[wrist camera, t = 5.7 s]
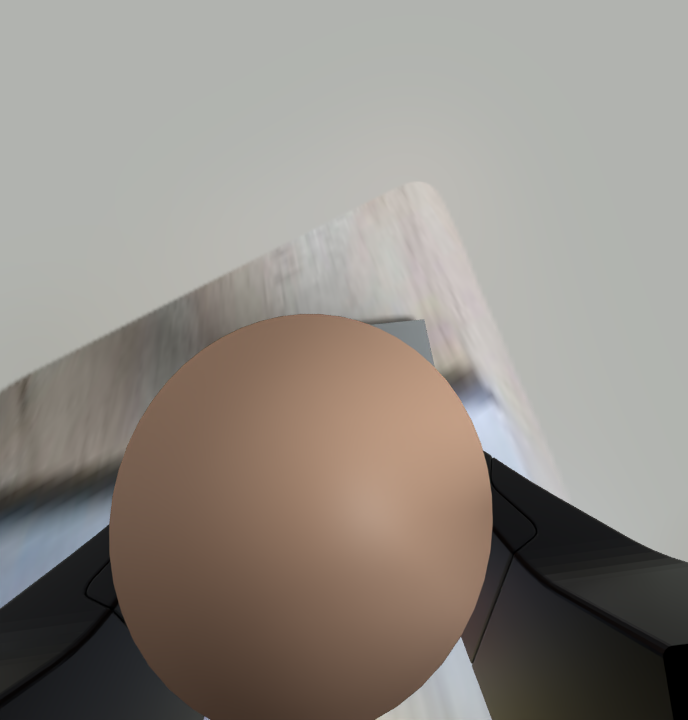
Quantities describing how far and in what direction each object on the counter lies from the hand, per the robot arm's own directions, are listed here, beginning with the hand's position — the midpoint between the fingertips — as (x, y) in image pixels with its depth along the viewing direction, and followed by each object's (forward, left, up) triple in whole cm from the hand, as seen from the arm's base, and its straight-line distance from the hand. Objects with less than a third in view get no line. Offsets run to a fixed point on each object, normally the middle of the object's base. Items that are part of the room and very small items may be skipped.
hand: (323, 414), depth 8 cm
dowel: (-1, 0, -7) cm, 7 cm away
